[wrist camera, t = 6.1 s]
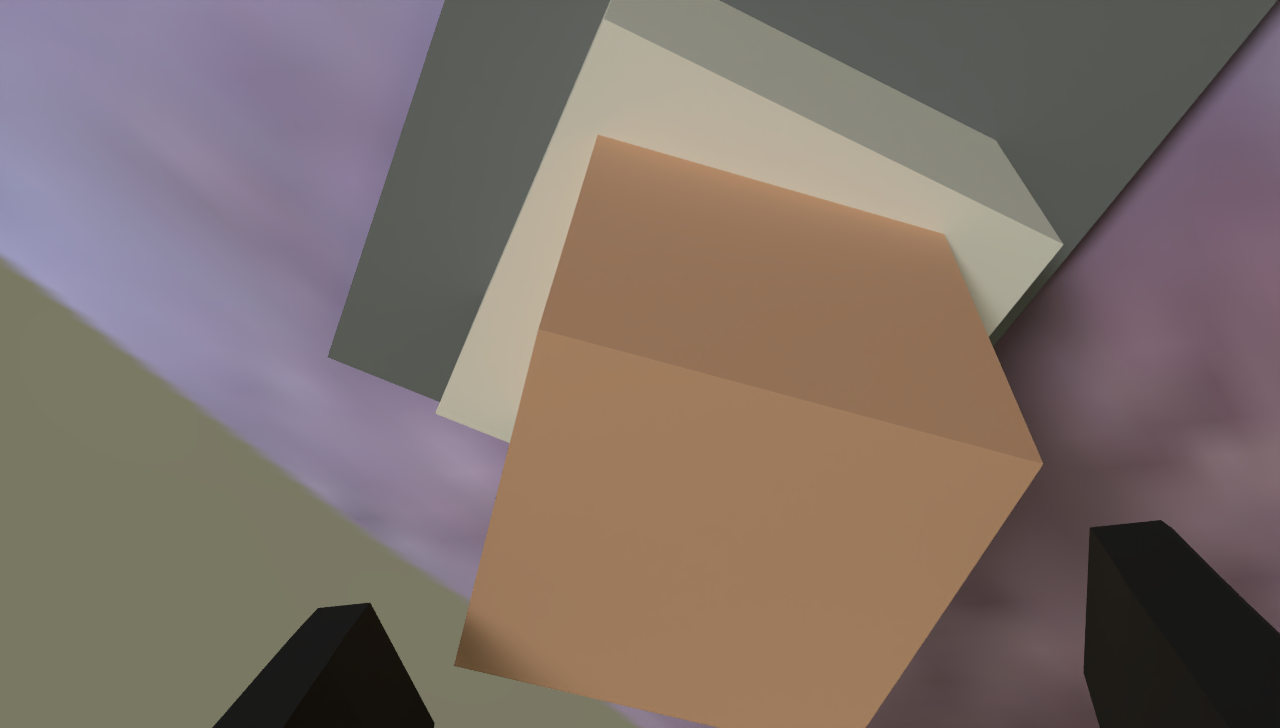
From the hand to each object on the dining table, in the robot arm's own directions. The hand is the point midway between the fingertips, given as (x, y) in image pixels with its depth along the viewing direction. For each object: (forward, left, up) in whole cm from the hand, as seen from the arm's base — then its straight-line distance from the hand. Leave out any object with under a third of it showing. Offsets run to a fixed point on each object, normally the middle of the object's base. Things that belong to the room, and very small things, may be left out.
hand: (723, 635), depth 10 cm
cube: (0, 0, -6) cm, 6 cm away
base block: (0, 0, -10) cm, 10 cm away
